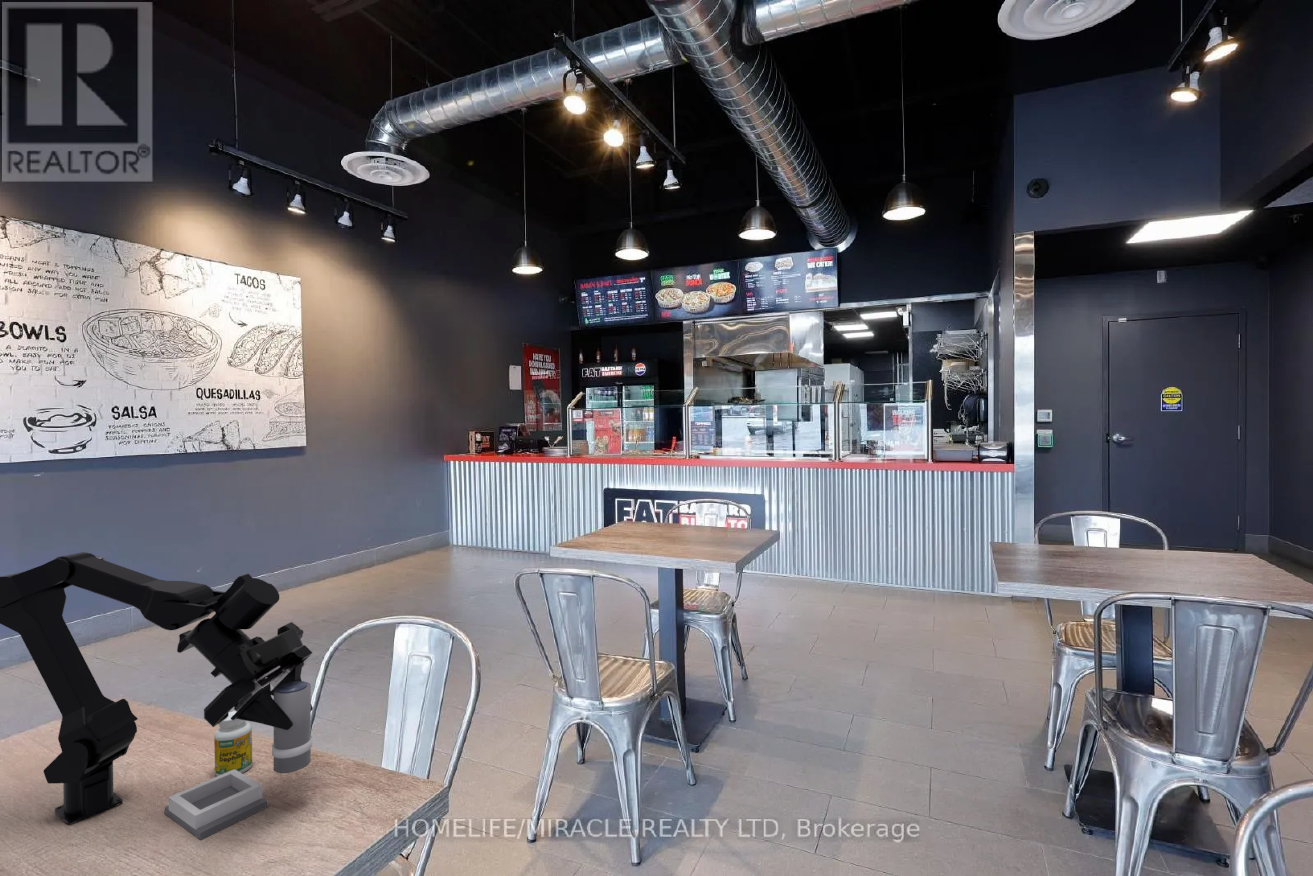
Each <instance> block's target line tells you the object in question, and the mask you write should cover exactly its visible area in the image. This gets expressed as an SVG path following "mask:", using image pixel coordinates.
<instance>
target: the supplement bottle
mask: <svg viewBox="0 0 1313 876" xmlns="http://www.w3.org/2000/svg"><path fill="white" fill-rule="evenodd" d="M235 713H236V711H235V710H233V711H229V712H228V717H227V718H226V719H225V720H223V721H222V722H220V723H219V724H218V726H219V728H218V729H217V730H216V731H215V733H214V736H213V737H214V738H213V739H214V740H213V741H214V773H215V777H217V776H219V775H222V774H224V773H227V772H229V771H231V770H234V769H235V770H237V771H238V772H240V773H242V774H243V773H245V772H246V771H248V770H250V769H251V767H252V766H253V738H252V737H253V728H252V725H251V723H250V722H249V721H246V720H241V719H235V720H231V717H232V716H233V715H234V714H235Z"/></svg>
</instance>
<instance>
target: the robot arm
mask: <svg viewBox="0 0 1313 876" xmlns="http://www.w3.org/2000/svg"><path fill="white" fill-rule="evenodd" d="M71 586H74V587H76V588H77V587H78V588H80V589H83V590H86V591H88V592H91V593H94V594H97V595H100V596H102V597H106V598H109V599H111V600H113V601H117V602H120V603H123V604H125V605H128V606H131V607H134V608H135V609H138V611H140V613H141V614H142V616H143V618H144V620H147V621H148V622H150V623H152V624H154V625H156V626H157V627H160V628H162V629H163V630H165V631H176V630H179V629H182V628H184V627H187V626H189V625H191V624H194V623H196V622H198V621H200V622H198V623H197V624H196V625H195V627H193V628H192V629H190V630H186V631H184V632H182V633H180V634H179V635H178V638H179V639H178V640H179V641H178V644H177V648H176V652H177V653H179V654H181V653H183V652H185V651H187V650H189V649H191V648H195V649H196V650H197V651H198V652H199V653H200V654H201V655H202V656H203V657H204V658H205V659H206V661H208V662H209V663H210V664H211V665H212V666H213V667H214V669H213V670H212V671H211V672H210V674H211V675H212V677H214V678H217V677H219V676H221V675H222V676H223V677H224V678H225V680H227V681H228V682H230V684H229V685H228V686H226V687H224V688H223V689H222V690H221V691H220V693H219V694H217V695H216V697H214V699H213V700H212V701H211V702H209V703H208V705H206V707H205V708H203V719H204V720H205V721H206V723H208V724H209V725H210V726H211V727H212V728H214V727H216V726H218V725H219V723H220V722H222V721H223V720H225V719H226V718H227V717H228V713H229V712H231V710H232V709H233V711H236V713H235V714H234V715H233V716H232V717H231V720H235V719H241V720H246V722H253V723H258V724H261V725H265V726H270V727H273V728H274V727H277V728H280V729H284V730H289V729H290V728H291V727H292V726H293V723H292V721H291V720H290V719H289V717H288V716H287V715H286V714H285V712H284V711H283V710H282V709H281V708H280V707H279V705H278V704H277V703H276V702H275V701H274V698H273V697H274V690H275V689H276V688H277V687H279V686H281V685H283V684H286V683H289V682H294V681H302V678H301V677H302V676H301V675H302V669H303V668H304V666H305V661H306V660H308V659H309V657H311V656H312V654H313V652H312V650H310V648H308V646H306V645H305V644H303V642H302V638H303V636H304V630H303V629H301V628H300V627H299V626H298V625H296V624H295V623H294V622H293V621H290V622H288V623H287V624H284V625H283V626H280V627H279V628H277V635H275V636H273V637H271V638H269V639H267V640H264V639H263V637H260V636H254V637H253V638H250V637H249V636H248V635H247V634H246V633H245V632H244V631H243V630H250V629H252V628H254V626H255V625H256V624H257V623H258V622H259V621H261V620H262V618H263V617H264V616H265V615H267V614H268V612H269V611H270V610H271V609H272V608H273V607H274V606H276V605H277V603H278V602H279V600H280V594H279V591H278V589H277V588H276V587H275V586H274V585H273V584H272V583H268V582H266V581H265V580H263V579H260V578H256V577H252V575H250V574H249V573H245V574H242V575H239V576H238V577H236V579H234V581H233V583H232V584H231V586H230V587H229V588H228V589H227V590H225V591H220V590H213V589H212V588H211V587H210V586H209V585H207V584H204V583H200V582H199V583H197V582H192V581H186V580H163V579H159V578H156V577H153V576H150V575H147V574H145V573H142V572H139V571H135V570H133V569H131V568H127V567H125V566H122V565H119V564H117V563H113V562H110V561H107V560H104V559H103V558H98V557H97V556H96V555H94V554H93V553H91V552H85V551H82V552H76V553H72V554H71V553H70V554H67V555H66V554H65V555H62V556H61V555H60V556H57V557H55V558H54V559H52V560H50V561H48V562H46V563H44V564H42V565H39V566H36V567H33V568H30V569H27V570H25V571H21V572H16V573H11V574H6V575H2V576H0V625H2V626H3V627H5V628H8V629H10V630H12V631H14V632H15V633H17V634H18V635H20V637H21V639H22V642H23V643H24V645H25V647H26V649H27V651H28V652H29V655H30V657H31V659H32V660H33V662H34V664H35V666H36V668H37V670H38V672H39V674H40V675H41V677H42V679H43V681H44V684H45V686H46V687H47V689H48V691H49V693H50V695H51V697H52V699H53V701H54V702H55V705H56V706H57V709H58V710H59V712H60V715H61V717H62V718H61V722H60V723H61V724H60V727H59V732H58V737H57V739H58V744H59V747H60V750H61V752H60V754H58V755H57V756H56V757H55V758H54V759H53V760H52V761H51V762H50V763H49V764H48V765H47V766H46V767H45V768H44V769H43V774H44V777H45V780H46V783H47V784H63V785H62V786H63V790H62V791H63V804H62V805H59V806H57V807H55V808H54V813H55V814H56V815H57V816H58V817H59V818H60V819H61V820H62V821H63V822H65V824H67V825H71V824H74V823H77V822H79V821H81V820H83V819H84V820H85V819H86V818H89V817H91V816H94V815H96V814H99V813H101V812H104V811H106V810H108V809H111V808H113V807H115V806H119V805H121V804H122V803H123V801H124V799H123V798H122V797H121V796H120V795H118V794H117V793H115V792H114V761H115V760H117V759H119V758H121V757H123V756H125V755H126V754H127V753H128V750H129V747H130V745H131V743H132V742H133V741H134V739H135V736H136V734H137V732H138V726H137V724H136V722H137V720H138V717H137V716H136V715H135V714H134V713H133V712H132V709H131V708H130V707H131V706H130V704H129V702H128V701H127V699H126V698H121V699H119V700H117V701H114V700H112V699H110V698H109V697H106V696H104V694H103V692H102V690H101V689H100V686H99V685H98V683H97V681H96V679H95V676H94V675H93V673H92V672H91V670H90V668H89V665H88V663H87V661H86V660H85V658H84V656H83V654H82V652H81V650H80V648H79V646H78V644H77V642H76V640H75V639H74V636H73V635H72V633H71V631H70V629H69V627H68V626H67V623H66V621H65V619H64V616H63V614H64V609H65V605H66V603H67V602H66V601H67V595H66V592H65V589H66V588H69V587H71ZM213 613H214V615H212V616H211V618H209V616H210V615H211V614H213ZM207 617H208V618H207ZM271 686H272V687H273V689H271ZM272 696H273V697H272ZM313 709H314V708H313V705H312V704H311V712H312V711H313ZM135 721H136V722H135Z"/></svg>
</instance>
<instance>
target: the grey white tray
mask: <svg viewBox="0 0 1313 876" xmlns="http://www.w3.org/2000/svg"><path fill="white" fill-rule="evenodd" d="M266 808H268V800H267V799H265V798H263V785H262V784H261V783H260V782H258V781H256V780H254V779H253V778H251V777H248V776H247V775H245V774H243V773H240V772H238V771H237V770H235V769H234V770H231V771H229V772H227V773H224V774H222V775H219V776H214V777H213V778H210V779H208V780H205V781H203V782H201V783H198V784H196V785H194V786H191V787H189V788H186V789H184V790H182V791H180V792H177V793H175V794H172V795H170V796H168V805H166V806H164V815H166V817H169V818H170V819H172V820H173V821H174V822H175V823H176V824H178V825H179V826H180V827H182V828H183V829H184V830H186V831H188V832H189V833H190V834H192V836H194V837H195V838H197V839H199V840H201V841H202V840H203V839H205V838H209V836H212V835H213V834H215V833H218V832H220V831H222V830H223V829H226V828H228V827H230V826H232V825H234V824H237V823H238V822H240V821H242V820H244V819H247V818H248V817H250V816H252V815H254V814H257V813H259V812H260V811H262V810H265V809H266Z"/></svg>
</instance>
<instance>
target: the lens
mask: <svg viewBox="0 0 1313 876" xmlns="http://www.w3.org/2000/svg"><path fill="white" fill-rule="evenodd" d="M311 688H312V684H311V683H310V682H307V681H304V680H303V681H294V682H289V683H286V684H283V685H281V686H279V687H277V688H276V689H275V690H274V696H273V700H274V701H275V702H276V703H277V704H278V705H279V707H280V708H281V709H282V710H283V711H284V712H285V714H286V715H287V716H288V717H289V719H290V720H291V721H292V723H293V726H292V727H291V728H290V729H289V730H284V729H280V728H277V727H273V743H272V745H271V756H272V758H273V771H274V772H275V773H277V774H289V773H293V772H297V771H301V770H302V769H304V768H306V767H307V766H308V765H309V764H310V763H311V759H312V758H311V757H312V756H311V755H312V750H311V749H312V746H313V735H311V734H312V730H311V729H312V726H311V725H312V724H311V723H312V717H311V715H312V711H311V705H312V702H311V701H312V695H311V694H312V689H311Z"/></svg>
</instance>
